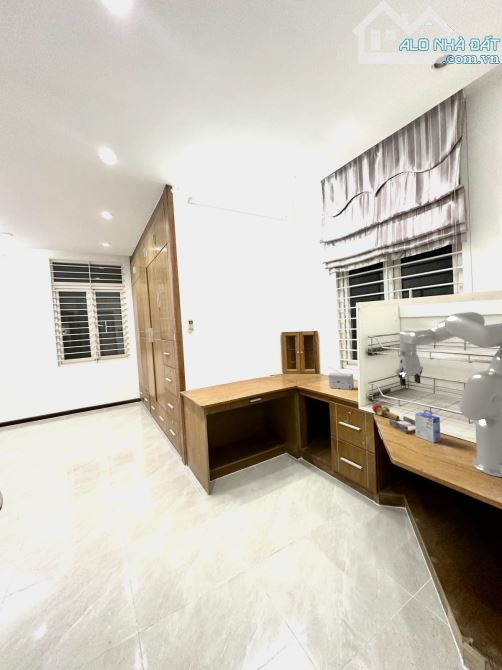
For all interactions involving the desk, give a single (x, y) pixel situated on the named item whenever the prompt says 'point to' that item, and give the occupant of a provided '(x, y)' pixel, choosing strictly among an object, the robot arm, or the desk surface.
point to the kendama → (384, 411)
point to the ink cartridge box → (427, 426)
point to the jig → (404, 425)
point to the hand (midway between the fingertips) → (410, 384)
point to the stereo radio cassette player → (341, 380)
